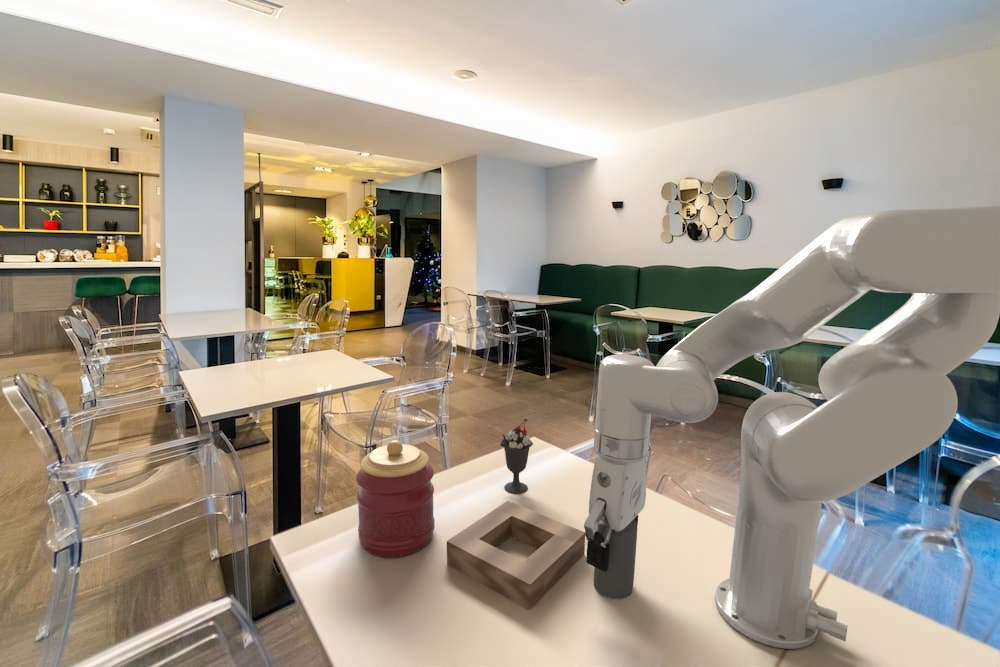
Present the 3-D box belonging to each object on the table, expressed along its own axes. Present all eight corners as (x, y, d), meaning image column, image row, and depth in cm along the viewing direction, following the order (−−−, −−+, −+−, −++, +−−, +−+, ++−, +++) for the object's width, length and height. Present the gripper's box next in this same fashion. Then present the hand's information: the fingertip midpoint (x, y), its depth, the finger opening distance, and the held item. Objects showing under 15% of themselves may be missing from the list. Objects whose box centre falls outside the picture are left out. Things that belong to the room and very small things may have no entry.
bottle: (629, 574, 76) (635, 485, 74) (636, 601, 71) (643, 505, 68) (591, 571, 77) (596, 482, 74) (595, 598, 71) (600, 503, 68)
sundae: (537, 485, 104) (539, 418, 101) (521, 499, 98) (523, 428, 96) (510, 477, 107) (512, 412, 105) (494, 490, 102) (495, 421, 99)
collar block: (584, 554, 81) (585, 532, 80) (529, 610, 69) (530, 584, 68) (507, 520, 91) (507, 500, 90) (446, 563, 78) (446, 541, 78)
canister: (352, 526, 88) (347, 433, 85) (421, 509, 94) (419, 422, 91) (367, 568, 77) (363, 463, 74) (445, 546, 83) (444, 448, 80)
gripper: (619, 471, 61) (609, 593, 64) (668, 431, 74) (658, 534, 77) (567, 454, 65) (560, 568, 68) (621, 419, 79) (614, 516, 82)
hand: (612, 550), depth 73 cm, fingers open, 9 cm apart
